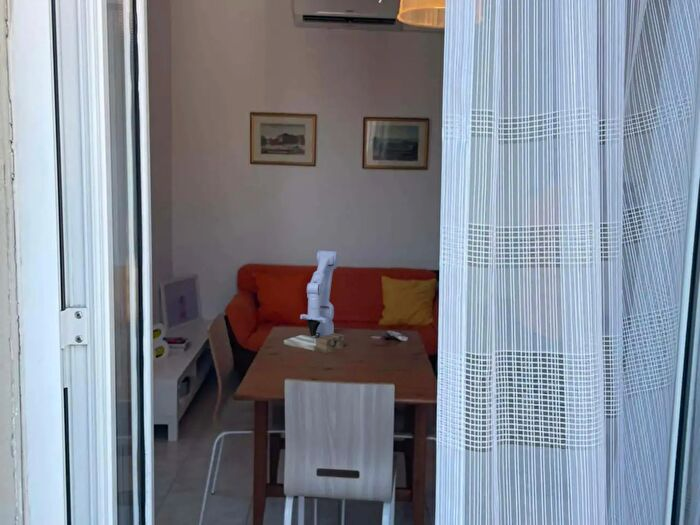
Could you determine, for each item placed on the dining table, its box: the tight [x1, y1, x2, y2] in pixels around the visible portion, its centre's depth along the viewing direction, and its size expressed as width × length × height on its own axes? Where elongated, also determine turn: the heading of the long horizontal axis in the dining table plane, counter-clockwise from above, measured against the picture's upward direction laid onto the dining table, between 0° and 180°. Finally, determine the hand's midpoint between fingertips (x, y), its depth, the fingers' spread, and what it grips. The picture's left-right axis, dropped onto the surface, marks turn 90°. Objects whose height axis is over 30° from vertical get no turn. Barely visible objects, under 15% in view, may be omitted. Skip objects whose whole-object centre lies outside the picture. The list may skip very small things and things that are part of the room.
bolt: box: [314, 333, 335, 345], centre depth 285 cm, size 3×10×4 cm, turn 56°
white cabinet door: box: [283, 332, 345, 354], centre depth 288 cm, size 14×25×6 cm, turn 56°
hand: (313, 335), depth 288 cm, fingers closed
